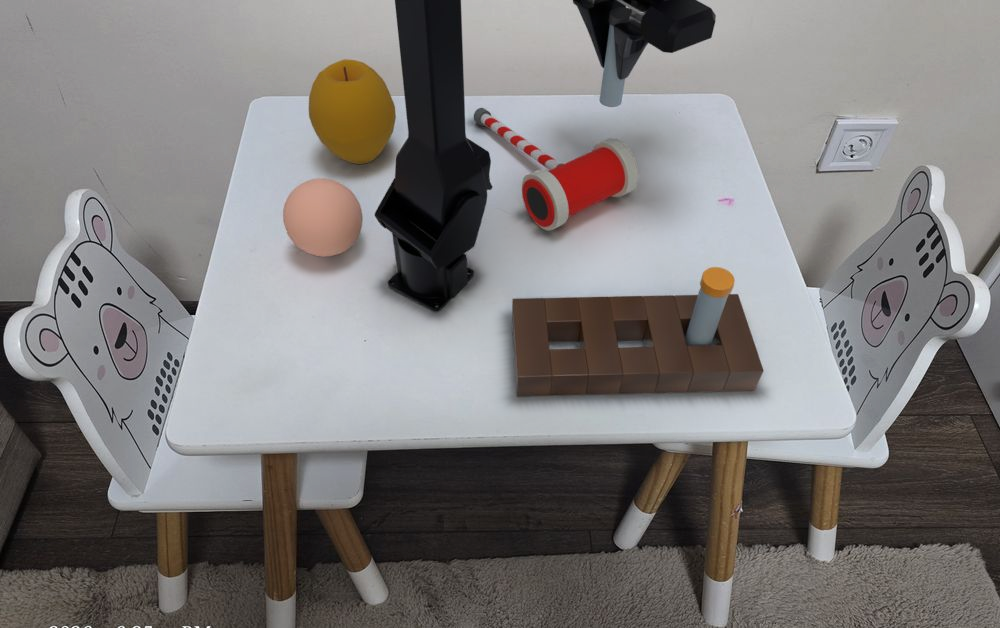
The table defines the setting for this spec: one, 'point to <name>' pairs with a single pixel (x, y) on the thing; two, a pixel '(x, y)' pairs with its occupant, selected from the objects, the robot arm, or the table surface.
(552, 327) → the rack
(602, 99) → the tube grey
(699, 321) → the orange-capped peg
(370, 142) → the apple
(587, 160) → the toy hammer
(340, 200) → the toy ball
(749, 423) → the table surface
